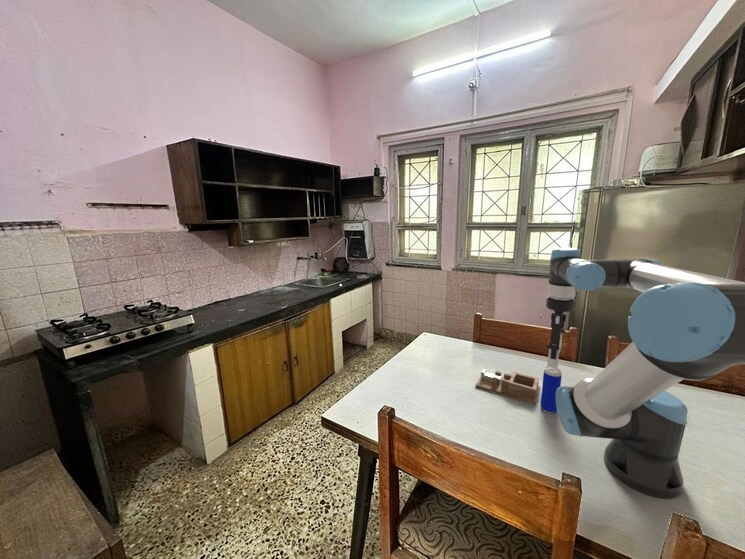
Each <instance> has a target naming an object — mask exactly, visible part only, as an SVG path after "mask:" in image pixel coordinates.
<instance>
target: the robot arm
mask: <svg viewBox="0 0 745 559" xmlns="http://www.w3.org/2000/svg"><path fill="white" fill-rule="evenodd" d="M548 274H549V275H548V282H547V297H546V302H545V303H546V304H545V306H546V308H547V309H549V311H550V310H551V311H552V312H551V316H550V320H551V322H550V328H551V330H550V339H549V345H548V344H547V345H546V348H547V349H548V355H547V363H546V364H547V365H546V367H551V368H556V369H557V368H559V367H558V365H559V357H560V356H559V355H560V352H561V351H562V350H561V348H562V342H563V341H562V340H563V334H565V332H566V329H564V327H565V322H566V320H567V319H566V318H567V314H566V313H571V312H572V311H574V310H575V302H576V299H575V297H576V293H577V292H578V291H580V290H583V291H594V290H597V289H598V288H628V289H632V290H635V291H638V292H641V294H640V295H638V296H637V297H636V299H635V300H634V301H633V303H632V305H631V306H630V310H629V312H630V313H631V315H630V316H628V317H627V328H628V333H629V336H630V338H631V341H632V342H631V343H630V344H629V345H627V347H625V348H624V349H623V350H622V351H621V352H620V353H619V354H618V355H617V356H616V357H615V358H613V360H611V362H610V363H609V364H607V365H606V366H605V367H604V368H603V369H602V370H601V371H600V372H599V373H598V374H597V375H596V376H595V377H588V378H585V379H582V380H579V382H577V383H576V385H574V386H567V385H564V386H560V387H558V388H557V390H556V407H557V412H556V413H557V416H558V419H559V421H560V422H559V423H560V425H561V426H562V428H563V430H564V431H565V432H566V433H567V434H569V435H571V436H576V437H582V438H583V437H587V438H600V439H610V442H609V443H608V444H607V445H606V446H605V449H604V454H603V461H604V464H605V466H606V467H607V469H608V470H609V471H610V472H611V473H612V474H613V476H615V477H616V478H617V479H618V480H619V481H621V482H622V483H624V484H626V485H627V486H629V487H631V488H632V489H634V490H636V491H638V492H640V493H643V494H645V495H648V496H651V497H654V498H659V499H674V498H677V497H679V496H680V495H682V492H683V488H684V478H683V474H682V470H681V466H680V462H679V455H680V451H681V446H682V443H683V442H682V441H683V438H684V433H685V428H686V425H688V421H687V419H688V408H687V406H686V405H685V403H684V402H683V401H682V400H681V399H679V398H678V397H677V396H676V395H674V394H672V393H670V392H668V391H667V390H669V389H670V388H672V387H673V386H675V385H677V384H678V383H680V382H682V381H683V380H687V381H703V380H707V379H711V378H713V377H714V376H716V375H718V374H720V373H721V372H723V371H725V370H727V369H729V368H731V367H733V366H738V365H745V281H739V280H734V279H730V278H725V277H722V276H721V277H720V276H717V275H716V276H715V275H710V274H706V273H701V272H696V271H690V270H687V269H682V268H677V267H672V266H667V265H664V264H662V263H661V261H659V260H657V259H648V258H639V259H583V258H581V250H580V249H579V248H576V247H575V248H574V247H556V248H553V249H552V251H551V255H550V258H549V273H548ZM565 312H566V313H565Z"/></svg>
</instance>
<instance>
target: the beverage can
mask: <svg viewBox="0 0 745 559" xmlns="http://www.w3.org/2000/svg"><path fill="white" fill-rule="evenodd" d="M562 376H563V374H562V370H561V369H560V368H559V367H557V369H556V368H551V367H547V366H545V367H544V369H543V375H542V378H543V379H542V384H541V386H542V388H541V397H540V408H541V409H542V410H543V411H544V412H546V413H548V414H556V413H558V412H557V407H556V390H557V388H558V387H560V386H561V384H562Z"/></svg>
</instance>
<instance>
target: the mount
mask: <svg viewBox="0 0 745 559" xmlns="http://www.w3.org/2000/svg"><path fill="white" fill-rule="evenodd" d="M486 372H487V371H486ZM487 373H490V374H494V375H498V376H501V382H500V384H498V377H495V376H493V377H492V383H491V382H488V381H484V380H481V376H480V377H479V379H478V380H477V382H476V384H475V388H477V389H479V390H480V389H481V390H483V391H488V392H490V393H493V394H496V395H501V396H504V397H507V398H510V399H514V400H517V401H521V402H524V403H526V404H530V405H534V406H536V405H537V402H538V397H539V393H540V390H541V386H540V385H539V384H540V378H539V377H537V376H532V375H528V374H523V373H519V372H516V371H513V372H512V373H511V374H510V373H506V372H504V373H503V375H502V371H499V370H495V372H494V373H492V372H487Z"/></svg>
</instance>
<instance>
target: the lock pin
mask: <svg viewBox="0 0 745 559" xmlns="http://www.w3.org/2000/svg"><path fill="white" fill-rule="evenodd" d="M490 373H491V372H488V373H487V369H484V368H482V370H481V372H480V377H481V380H484V381H488V382H491V383H492V377H493V376H495V377H498V384H500V382H501V376H502V375H501V376H498V375H494V374H495V373H492V374H490Z"/></svg>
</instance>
